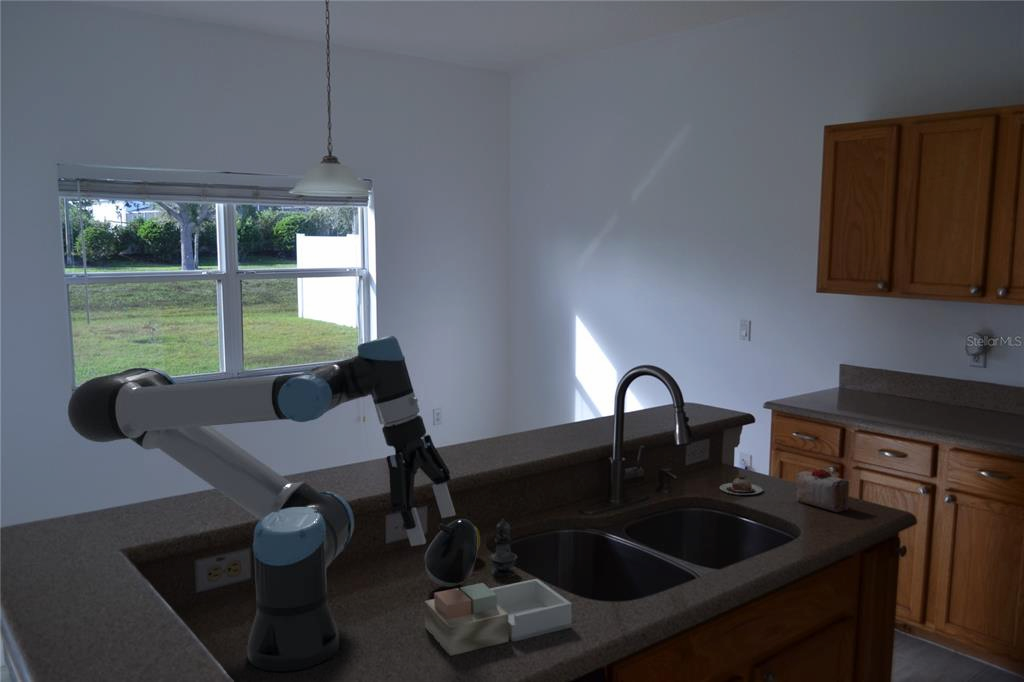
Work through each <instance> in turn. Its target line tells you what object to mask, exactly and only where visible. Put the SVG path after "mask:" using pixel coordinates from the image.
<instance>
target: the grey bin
mask: <svg viewBox="0 0 1024 682" xmlns="http://www.w3.org/2000/svg"><path fill="white" fill-rule="evenodd" d="M490 589H491V590H492V591H493V592H494V593H495V594H497V605H499V606H500V607H501V608H502V609H503V610H504V611H506V612H507V613H508V627H509V640H510V641H511V642H512V643H514V642H519V641H522V640H526V639H530V638H534V637H538V636H543V635H546V634H551V633H554V632H557V631H558V632H559V631H562V630H567V629H570V628H572V625H573V624H572V620H573V619H572V602H570V601H569V600H568V599H566V598H564V596H562V595H561V594H559V593H558V592H557V591H555V590H554V589H552V588H551V587H550V586H548V585H547V584H545V583H544V582H543V581H541V580H540V579H539V578H534V579H529V580H524V581H519V582H515V583H510V584H505V585H501V586H496V587H491V588H490Z"/></svg>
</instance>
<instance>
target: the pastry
mask: <svg viewBox="0 0 1024 682" xmlns="http://www.w3.org/2000/svg"><path fill="white" fill-rule="evenodd" d="M729 487H730V488H729ZM727 488H728V489H731V490H732V491H733V492H732V491H728V489H727ZM719 489H720V490H721V491H722V492H724V493H725V494H728V493H729V494H728V495H732V494H733V495H734V496H752V495H757V494H760V493H762V492H763V490H764V489H763V487H761V486H758V485H756V484H752V483H751V481H750V479H748V478H747V476H746V475H737V476H736V478H735V479H734V480H733V481H732V482H729V483H723V484H721V485H720V486H719ZM753 489H754V490H753ZM752 491H754V492H752ZM739 492H741V493H739ZM742 492H743V493H742ZM745 492H748V493H745Z"/></svg>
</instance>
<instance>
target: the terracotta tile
mask: <svg viewBox="0 0 1024 682" xmlns="http://www.w3.org/2000/svg"><path fill="white" fill-rule="evenodd" d="M433 597H434V598H433V599H434V606H435V607H436V608H437V609H438V611H439V612H440V613H441V614H442V615H443V616H444V617H445V618H446V619H452V618H456V617H460V616H465V615H469V614H471V600H470V599H469V598H468V597H467V596H466V595H465V594H464V593H462V592H461V591H460V588H458V587H455V588H452V589H446V590H443V591H442V590H441V591H436V592H434V593H433Z"/></svg>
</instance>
